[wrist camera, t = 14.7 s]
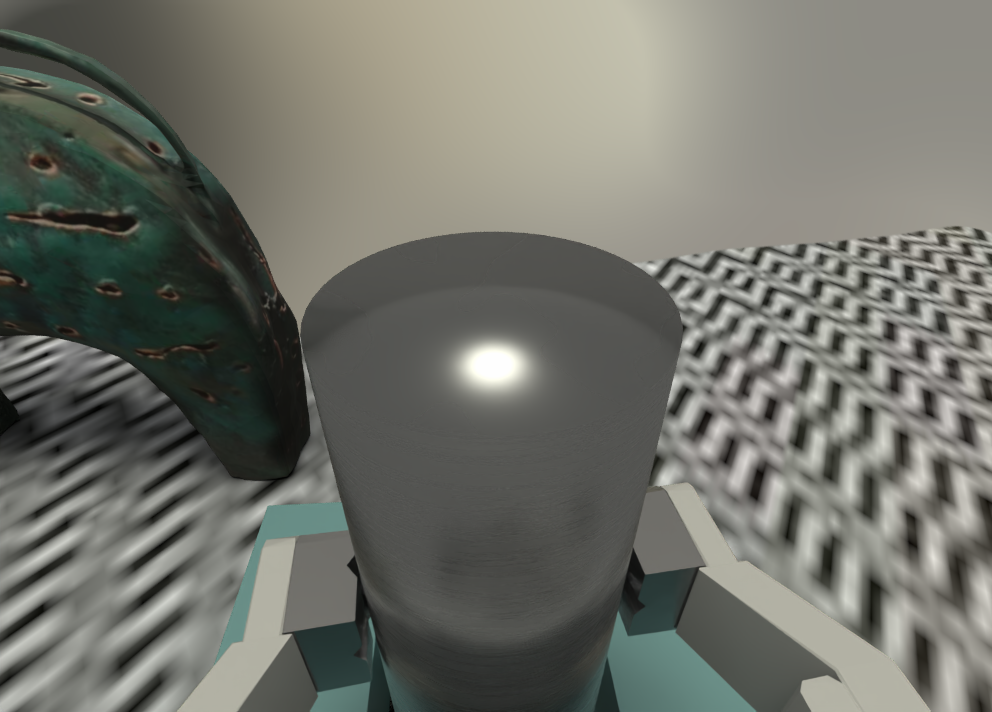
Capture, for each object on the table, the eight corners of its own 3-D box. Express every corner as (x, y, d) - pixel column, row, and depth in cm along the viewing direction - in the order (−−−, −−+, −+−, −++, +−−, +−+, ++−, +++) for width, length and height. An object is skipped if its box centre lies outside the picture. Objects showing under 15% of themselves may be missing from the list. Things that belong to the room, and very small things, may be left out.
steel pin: (604, 824, 13) (773, 358, 5) (450, 921, 12) (348, 500, 4) (528, 667, 16) (558, 214, 8) (398, 731, 15) (277, 265, 7)
